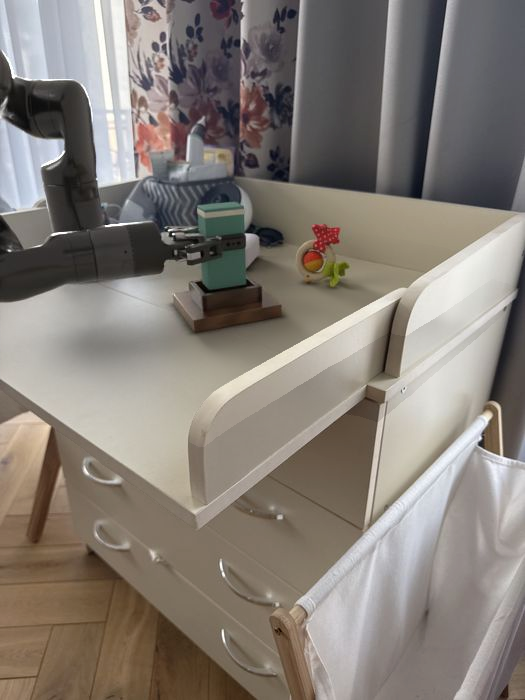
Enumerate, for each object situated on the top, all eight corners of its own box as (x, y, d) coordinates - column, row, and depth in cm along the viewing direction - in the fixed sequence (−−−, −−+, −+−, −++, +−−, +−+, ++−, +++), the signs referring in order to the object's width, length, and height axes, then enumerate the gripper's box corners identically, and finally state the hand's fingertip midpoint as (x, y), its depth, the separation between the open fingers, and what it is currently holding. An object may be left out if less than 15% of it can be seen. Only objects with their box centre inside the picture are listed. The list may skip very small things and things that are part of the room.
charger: (190, 277, 101) (217, 254, 114) (238, 281, 99) (259, 256, 111) (188, 253, 99) (215, 231, 111) (237, 256, 96) (259, 234, 109)
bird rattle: (304, 299, 96) (352, 283, 92) (279, 241, 92) (328, 222, 88) (311, 287, 101) (357, 272, 97) (288, 232, 98) (335, 214, 94)
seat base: (194, 332, 79) (192, 304, 77) (173, 304, 89) (170, 278, 87) (281, 316, 84) (281, 289, 82) (252, 291, 94) (251, 266, 92)
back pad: (209, 290, 82) (204, 209, 76) (201, 283, 85) (196, 205, 79) (246, 284, 84) (244, 205, 78) (238, 277, 87) (235, 201, 82)
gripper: (132, 236, 69) (257, 222, 75) (113, 214, 80) (223, 203, 86) (138, 292, 72) (258, 274, 78) (120, 263, 84) (225, 249, 90)
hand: (239, 237), depth 82 cm, fingers closed on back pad, 3 cm apart
